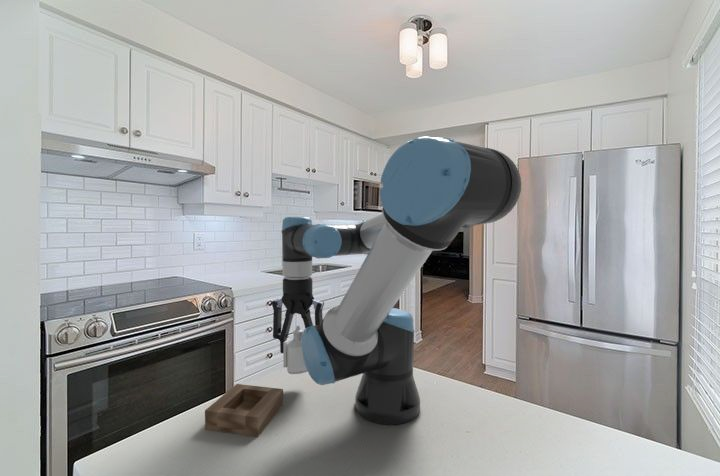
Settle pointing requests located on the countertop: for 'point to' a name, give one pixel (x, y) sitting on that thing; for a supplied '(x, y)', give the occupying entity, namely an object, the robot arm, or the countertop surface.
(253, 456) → the countertop surface
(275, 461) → the countertop surface
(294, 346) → the eye dropper bottle
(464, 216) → the robot arm
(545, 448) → the countertop surface
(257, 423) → the walnut bottle stand
